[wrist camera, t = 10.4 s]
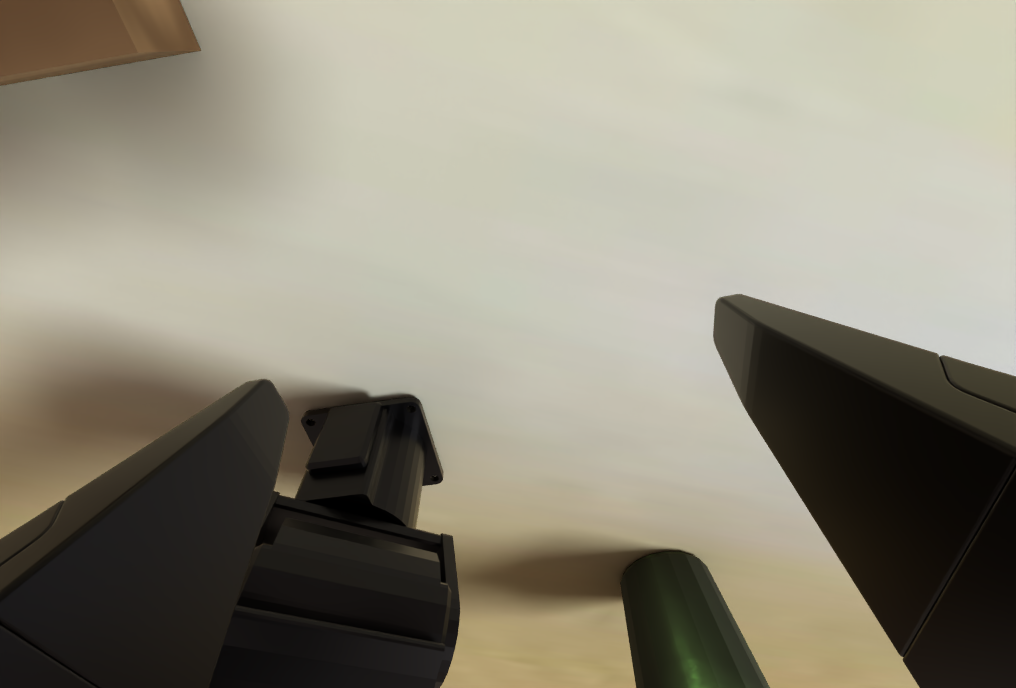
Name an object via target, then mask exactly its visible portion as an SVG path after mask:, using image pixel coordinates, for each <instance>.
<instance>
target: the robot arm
mask: <svg viewBox="0 0 1016 688" xmlns="http://www.w3.org/2000/svg"><path fill="white" fill-rule="evenodd" d="M713 337H714V343H715V346H716V348H717V351H718V353H719V355H720V357H721V359H722V361H723V363H724V366H725V368H726V370H727V372H728V374H729V376H730V379H731V381H732V383H733V385H734V387H735V389H736V391H737V394H738V396H739V398H740V400H741V402H742V404H743V406H744V408H745V410H746V411H747V413H748V415H749V416H750V418H751V420H752V421H753V423H754V424H755V426H756V428H757V429H758V431H759V432H760V434H761V436H762V437H763V439H764V440H765V442H766V443H767V445H768V447H769V448H770V450H771V451H772V453H773V455H774V456H775V458H776V459H777V461H778V463H779V464H780V466H781V467H782V469H783V470H784V472H785V474H786V475H787V477H788V478H789V480H790V482H791V483H792V485H793V486H794V488H795V490H796V491H797V493H798V494H799V496H800V497H801V499H802V501H803V502H804V504H805V505H806V507H807V509H808V510H809V512H810V513H811V515H812V517H813V518H814V520H815V521H816V523H817V524H818V526H819V528H820V529H821V531H822V532H823V534H824V536H825V537H826V539H827V540H828V542H829V544H830V545H831V547H832V548H833V550H834V551H835V553H836V555H837V556H838V558H839V559H840V561H841V563H842V564H843V566H844V567H845V569H846V571H847V572H848V574H849V575H850V577H851V578H852V580H853V582H854V583H855V585H856V586H857V588H858V590H859V591H860V593H861V594H862V596H863V598H864V599H865V601H866V602H867V604H868V605H869V607H870V609H871V610H872V612H873V613H874V615H875V617H876V618H877V620H878V621H879V623H880V625H881V626H882V628H883V629H884V631H885V632H886V634H887V636H888V637H889V639H890V640H891V642H892V644H893V645H894V647H895V648H896V650H897V652H898V653H899V655H900V656H902V657H903V662H904V663H905V665H906V667H907V668H908V670H909V671H910V673H911V674H912V676H913V678H914V679H915V681H916V682H917V684H918V686H919V687H920V688H1016V376H1012V375H1009V374H1006V373H1002V372H999V371H995V370H992V369H988V368H985V367H981V366H978V365H974V364H971V363H967V362H964V361H961V360H958V359H954V358H951V357H948V356H944V355H943V356H940V357H939V355H938V354H937V353H934V352H931V351H928V350H924V349H921V348H918V347H914V346H911V345H908V344H904V343H901V342H898V341H894V340H891V339H888V338H884V337H881V336H878V335H874V334H871V333H868V332H865V331H861V330H858V329H855V328H851V327H848V326H845V325H841V324H838V323H835V322H831V321H828V320H825V319H821V318H818V317H815V316H812V315H808V314H805V313H802V312H798V311H795V310H792V309H788V308H785V307H782V306H778V305H775V304H772V303H769V302H765V301H762V300H759V299H755V298H752V297H749V296H745V295H742V294H735V295H730V296H724V297H720V298H719V299H718V300H717V301H716V304H715V316H714V331H713ZM409 406H414V408H410V407H409ZM310 419H312V420H314V421H312V420H310ZM288 423H289V412H288V409H287V407H286V405H285V403H284V402H283V400H282V398H281V396H280V395H279V393H278V391H277V390H276V388H275V386H274V385H273V383H272V382H271V381H270V380H267V379H260V380H254V381H249V382H246V383H244V384H243V385H241V386H240V387H238V388H236V389H235V390H233V391H232V392H230V393H229V394H227V395H225V396H224V397H222V398H221V399H219V400H218V401H216V402H215V403H213V404H211V405H210V406H208V407H207V408H205V409H204V410H202V411H200V412H199V413H197V414H196V415H194V416H193V417H191V418H190V419H188V420H186V421H185V422H183V423H182V424H180V425H179V426H177V427H176V428H174V429H172V430H171V431H169V432H168V433H166V434H165V435H163V436H161V437H160V438H158V439H157V440H155V441H154V442H152V443H151V444H149V445H147V446H146V447H144V448H143V449H141V450H140V451H138V452H136V453H135V454H133V455H132V456H130V457H129V458H127V459H126V460H124V461H122V462H121V463H119V464H118V465H116V466H115V467H113V468H112V469H110V470H108V471H107V472H105V473H104V474H102V475H101V476H99V477H97V478H96V479H94V480H93V481H91V482H90V483H88V484H87V485H85V486H83V487H82V488H80V489H79V490H77V491H76V492H74V493H72V494H71V495H69V496H68V497H67V498H66V499H65V501H60V502H58V503H57V504H55V505H54V506H52V507H50V508H49V509H47V510H46V511H44V512H43V513H41V514H40V515H38V516H36V517H35V518H33V519H32V520H30V521H28V522H27V523H25V524H24V525H22V526H20V527H19V528H17V529H16V530H14V531H12V532H11V533H9V534H8V535H6V536H5V537H3V538H1V539H0V688H440V686H441V685H442V683H443V682H444V679H445V677H446V675H447V673H448V670H449V667H450V664H451V661H452V657H453V654H454V650H455V645H456V640H457V635H458V627H459V617H460V601H459V591H458V582H457V572H456V563H455V554H454V544H453V536H450V535H446V534H441V535H438V534H434V533H430V532H426V531H422V530H418V529H416V524H417V517H418V511H419V504H420V497H421V491H422V486H426V485H434V484H439V483H441V482H442V480H443V470H442V466H441V463H440V460H439V457H438V454H437V451H436V448H435V445H434V441H433V438H432V435H431V432H430V429H429V426H428V423H427V419H426V416H425V413H424V410H423V407H422V404H421V402H420V400H418V399H417V398H414V397H407V398H400V399H392V400H385V401H378V402H369V403H362V404H355V405H347V406H340V407H333V408H326V409H318V410H311V411H307V412H306V413H304V415H303V417H302V420H301V423H302V425H303V427H304V429H305V431H306V433H307V435H308V437H309V439H310V441H311V442H312V444H313V446H314V447H313V450H312V452H311V454H310V457H309V459H308V461H307V463H306V469H307V470H306V472H305V475H304V477H303V479H302V482H301V484H300V487H299V489H298V491H297V494H296V496H295V498H290V497H286V496H282V495H279V494H280V493H279V492H275V491H273V490H274V487H275V483H276V479H277V475H278V470H279V465H280V461H281V456H282V451H283V447H284V442H285V437H286V432H287V428H288Z"/></svg>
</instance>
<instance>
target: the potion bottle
mask: <svg viewBox="0 0 1016 688" xmlns="http://www.w3.org/2000/svg"><path fill="white" fill-rule="evenodd" d="M620 585H621V591H622V598H623V604H624V611H625V617H626V624H627V630H628V637H629V643H630V650H631V656H632V663H633V669H634V676H635V682H636V688H770V687H769V685H768V683H767V681H766V679H765V677H764V675H763V673H762V672H761V670H760V668H759V666H758V664H757V662H756V660H755V658H754V656H753V654H752V652H751V650H750V648H749V647H748V645H747V643H746V641H745V639H744V637H743V635H742V633H741V631H740V629H739V627H738V625H737V623H736V621H735V620H734V618H733V616H732V614H731V612H730V610H729V608H728V606H727V604H726V602H725V600H724V598H723V596H722V595H721V593H720V591H719V589H718V587H717V585H716V583H715V581H714V579H713V577H712V575H711V573H710V571H709V570H708V568H707V566H706V565H705V564H704V563H703V562H702V561H701V560H700V559H699V558H697V557H695V556H692V555H689V554H686V553H683V552H667V551H666V552H661V553H656V554H651V555H648V556H646V557H644V558H642V559H640V560H637V561H636V562H634V563H633V564H632V565H631V566H630V567H629V568H628V569H627V570H626V571H625V573H624V575H623V578H622V580H621V582H620Z"/></svg>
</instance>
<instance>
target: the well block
mask: <svg viewBox="0 0 1016 688" xmlns="http://www.w3.org/2000/svg"><path fill="white" fill-rule="evenodd" d="M196 51H201V49H200V47H199V45H198V42H197V40H196V38H195V35H194V33H193V31H192V28H191V26H190V24H189V21H188V19H187V17H186V14H185V12H184V10H183V7H182V5H181V3H180V0H0V86H1V85H7V84H13V83H18V82H24V81H30V80H36V79H41V78H47V77H53V76H58V75H64V74H70V73H76V72H81V71H87V70H93V69H98V68H104V67H110V66H116V65H121V64H127V63H133V62H138V61H144V60H150V59H156V58H161V57H167V56H173V55H178V54H184V53H190V52H196Z"/></svg>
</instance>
